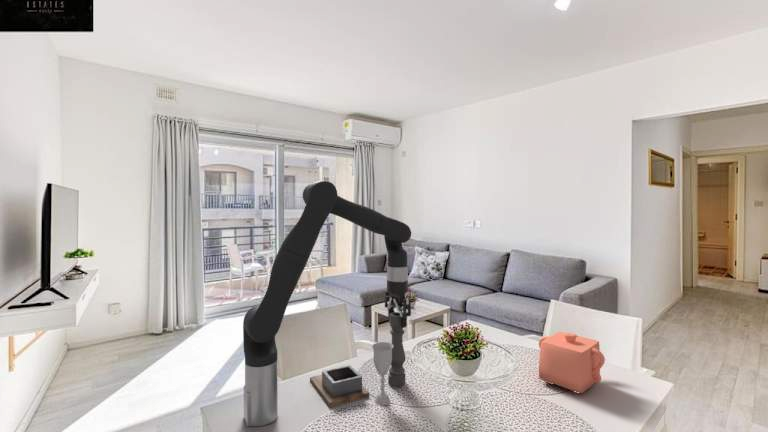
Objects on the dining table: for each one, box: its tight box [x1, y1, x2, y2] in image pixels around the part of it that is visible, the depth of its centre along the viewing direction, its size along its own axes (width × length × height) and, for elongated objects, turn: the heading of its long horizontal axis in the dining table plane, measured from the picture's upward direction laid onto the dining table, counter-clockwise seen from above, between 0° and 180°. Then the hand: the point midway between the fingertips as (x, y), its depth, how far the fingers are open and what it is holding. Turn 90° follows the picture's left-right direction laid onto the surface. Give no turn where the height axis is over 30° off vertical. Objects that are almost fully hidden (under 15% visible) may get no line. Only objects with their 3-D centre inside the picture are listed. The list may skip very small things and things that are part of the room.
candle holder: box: [387, 311, 406, 389], centre depth 135 cm, size 6×6×25 cm
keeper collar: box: [321, 364, 363, 399], centre depth 128 cm, size 10×10×5 cm
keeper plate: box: [309, 374, 370, 408], centre depth 131 cm, size 14×20×2 cm
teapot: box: [538, 331, 606, 394], centre depth 139 cm, size 25×23×18 cm
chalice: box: [371, 341, 393, 406], centre depth 123 cm, size 7×7×18 cm
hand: (397, 323), depth 135 cm, fingers open, 8 cm apart
